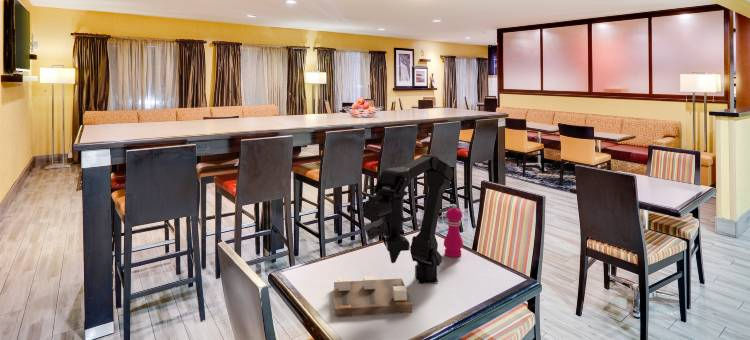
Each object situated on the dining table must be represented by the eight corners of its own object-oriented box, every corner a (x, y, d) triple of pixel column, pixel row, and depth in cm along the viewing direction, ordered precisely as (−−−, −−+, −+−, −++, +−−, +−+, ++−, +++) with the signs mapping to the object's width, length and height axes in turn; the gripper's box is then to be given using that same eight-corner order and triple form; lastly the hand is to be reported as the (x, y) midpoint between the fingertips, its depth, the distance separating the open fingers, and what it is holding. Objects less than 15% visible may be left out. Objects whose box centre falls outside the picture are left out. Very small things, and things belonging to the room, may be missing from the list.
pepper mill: (441, 256, 166) (442, 205, 162) (445, 249, 173) (447, 200, 169) (460, 259, 164) (462, 207, 160) (464, 252, 170) (465, 202, 166)
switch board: (401, 285, 143) (401, 278, 142) (412, 312, 126) (412, 304, 126) (334, 289, 140) (333, 281, 140) (335, 317, 124) (335, 308, 123)
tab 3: (404, 295, 130) (405, 285, 130) (406, 300, 127) (406, 290, 127) (392, 295, 130) (392, 286, 129) (394, 300, 127) (394, 291, 126)
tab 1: (349, 285, 136) (349, 276, 136) (350, 290, 133) (350, 281, 133) (338, 286, 136) (337, 277, 135) (338, 291, 133) (338, 281, 132)
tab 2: (375, 284, 137) (375, 275, 137) (376, 288, 134) (376, 279, 134) (363, 285, 137) (363, 276, 136) (364, 289, 134) (364, 280, 133)
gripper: (362, 204, 136) (363, 252, 139) (369, 223, 118) (370, 277, 121) (397, 203, 137) (397, 250, 140) (410, 221, 119) (409, 275, 122)
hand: (393, 262), depth 131 cm, fingers closed
